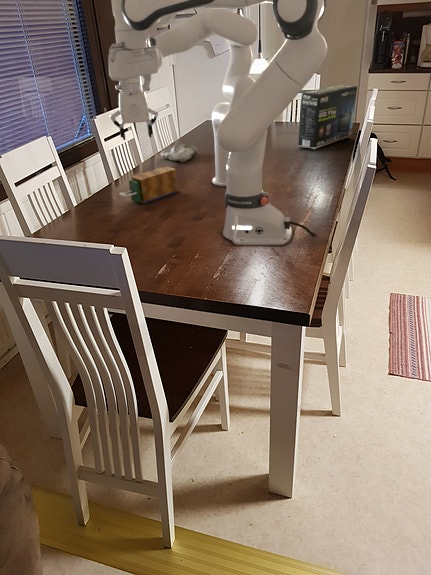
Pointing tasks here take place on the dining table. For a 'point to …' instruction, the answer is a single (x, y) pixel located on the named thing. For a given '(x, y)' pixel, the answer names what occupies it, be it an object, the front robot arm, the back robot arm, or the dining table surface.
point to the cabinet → (157, 183)
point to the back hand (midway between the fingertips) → (137, 137)
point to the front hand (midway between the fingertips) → (137, 93)
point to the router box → (326, 115)
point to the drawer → (134, 191)
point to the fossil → (179, 152)
